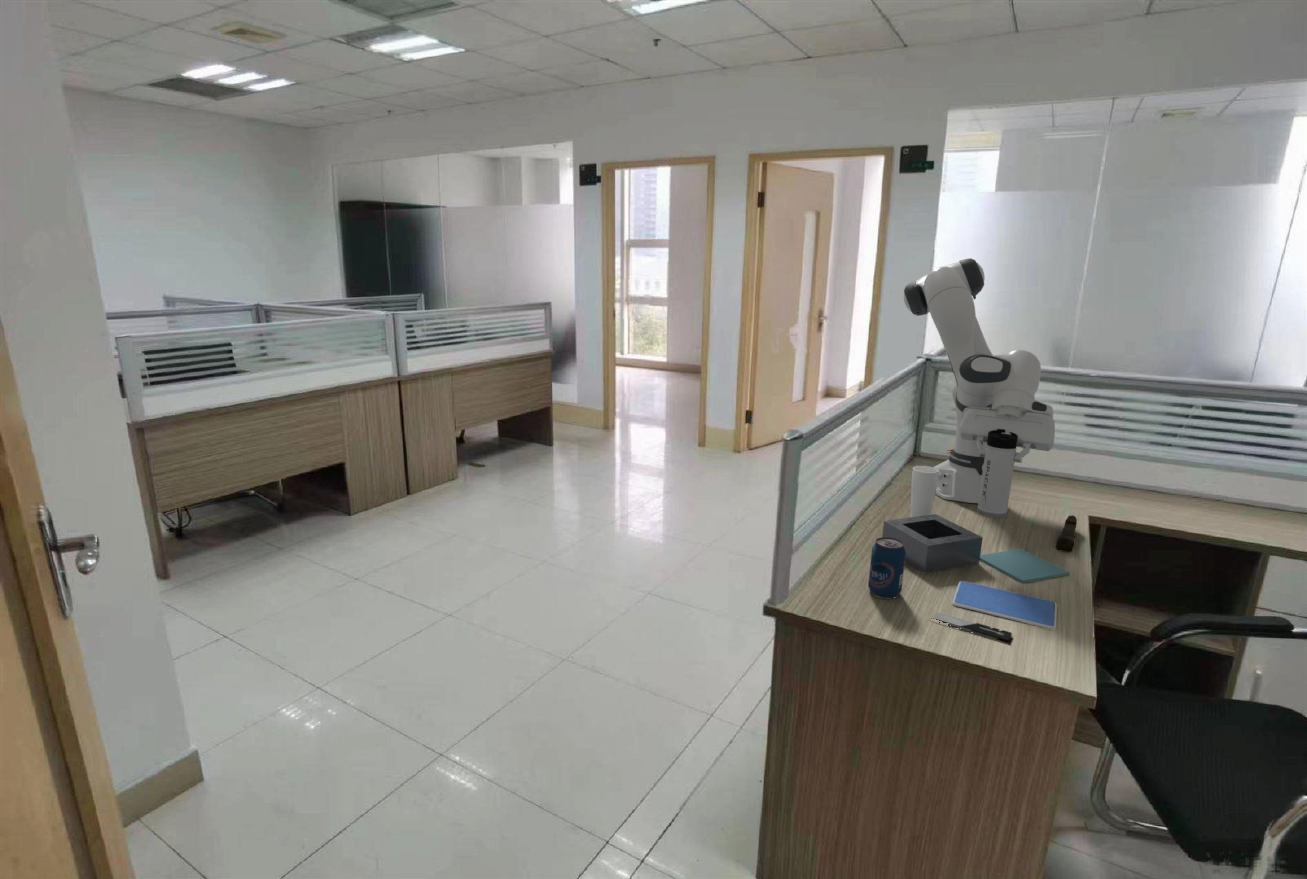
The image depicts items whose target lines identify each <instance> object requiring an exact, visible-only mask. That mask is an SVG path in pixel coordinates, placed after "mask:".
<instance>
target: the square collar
mask: <svg viewBox="0 0 1307 879" xmlns="http://www.w3.org/2000/svg"><path fill="white" fill-rule="evenodd" d="M882 525H883V528H882V535H881V536H882V537H890V538H895V539H898V540H900V541H902V542H903V544H904V549H905V551H906V555H905V563H907V564H909V565H910V566H911V567H913V568H915V569H917V570H918V571H920V572H921V571H922V572H921V573H923V574H924V573H925V574H929V573H935V572H940V571H948V570H953V569H954V570H955V569H958V568H964V567H970V566H977V565H980V555H981V552H982V544H983V537H982V536H981V535H979V534H977V533H975V532H973V531H970V530H969V529H967V528H964V527H963V526H962V525H961V526H960V525H959V524H957V523H954V522H952V521H950V520H948V519H947V518H944V517H942V516H941V515H938V514H937V513H935V514H932V513H931V515H925V516H917V517H910V516H909V517H904V518H897V519H896V518H895V519H889V520H884V521H883V524H882Z"/></svg>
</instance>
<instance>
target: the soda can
mask: <svg viewBox="0 0 1307 879" xmlns="http://www.w3.org/2000/svg"><path fill="white" fill-rule="evenodd" d="M905 555H906V551H905V549H904V544H903V542H902V541H900V540H898V539H895V538H890V537H878V538H876V539H875V542H874V543H873V545H872V547H871V555H870V556H871V557H870V566H869V574H868V588H869V590H870V592H871V594H872V593H873V594H874V595H873V594H872V595H873V596H875V595H876V596H875V597H877V596H878V597H877V598H879V597H882V598H881V599H884V598H893V599H895V598H894V597H896V598H897V597H898V596H899V595H900V594H901V592H902V590H903V581H904V572H905V563H906V562H905Z"/></svg>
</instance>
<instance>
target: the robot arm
mask: <svg viewBox="0 0 1307 879" xmlns="http://www.w3.org/2000/svg"><path fill="white" fill-rule="evenodd" d="M985 278H986V277H985V272H984V269H983V268H982V266H981V264H980V263H978V262H977V260H976V259H973V258H972V257H971V258H964V259H961V260H959V261H958V262H957V261H956V262H955V263H951V264H947V265H945V266H940V267H937V268H934V269H932V270H931V271H930V272H928V274H925V275H924V276H922V277H920V278H918V279H917V280H912V281H910V282H909V283H908V284H906V286H905V287H904V289H903V302H904V304H905V307H906V308H907V310H909V312H911V314H913V315H915V316H917V317H918V316H923V315H925V316H926V315H928V313H930V316H931V318H932V321H933V324H934V325H935V328H936V329H937V332H938V335H939V337H940V340H941V342H942V345H943V348H944V350H945V353H946V356H947V358H948V361H949V363H950V365H951V369H952V373H953V376H954V379H955V383H956V384H955V385H954V387H953V388H952V394H951V395H952V400H953V402H954V404H955V412H956V432H955V433H956V434H955V440H954V442H955V443H954V448H953V449H947V450H946V451H947V452H946V454H949V457H948V459H946V460H944V461H942V462H941V463H938V464H937V465H935V466H932V467H933V468H936V469H938V470H939V476H938V485H937V490H936V494H935V496H936V495H937V496H938V497H940V498H941V499H943V500H947V501H948V500H949V501H957V502H962V503H968V504H969V503H970V504H971V503H972V504H978V502H979V495H980V488H981V480H982V473H983V466H984V458H985V451H986V447H987V446H986V444H987V441H988V440H987V438H988V432H989V431H992V430H997V429H1004V430H1005V433H1004V434H1010V433H1009V432H1012V433H1015V434H1017V436H1018V439H1017V444H1016V445H1017V446H1016V448H1021V449H1022V450H1021V451H1020V452H1017V451H1016V454H1015V458H1014V460H1015V461H1014V463H1020V464H1022V463H1023V459H1024V458H1025V457H1026V456H1027V455H1028V454H1029V453H1030V452H1031V450H1037V451H1043V452H1050V451H1051V450H1053V449H1054V446H1055V435H1056V434H1055V433H1056V426H1055V425H1056V424H1055V420H1054V409H1053V406H1051V405H1050V404H1047V403H1044V402H1041V401H1039V400H1036V399H1035V396H1036V393H1037V391H1038V389H1039V385H1040V381H1041V376H1042V375H1041V374H1042V368H1041V366H1042V365H1041V362H1040V360H1039V358H1038V357H1037V356H1036V355H1035V354H1034V353H1032V352H1031V351H1028V350H1024V349H1015V350H1012V351H1009V352H1007V353H1003V354H998V355H993V352H992V351H991V349H990V348H989V345H988V344H987V341H986V339H985V338H986V337H984V334H983V331H982V328H981V326H980V323H979V321H978V319H977V318H978V317H977V316H976V306H975V302H974V300H976V299H977V295H979V293H980V292H982V290H983V289H984V286H985ZM1010 435H1011V434H1010Z"/></svg>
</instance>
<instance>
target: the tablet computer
mask: <svg viewBox="0 0 1307 879" xmlns="http://www.w3.org/2000/svg"><path fill="white" fill-rule="evenodd" d="M951 604H952V606H955V607H957V608H958V607H959V608H963V609H967V610H971V611H975V612H978V613H982V614H987V615H991V616H996V617H998V618H999V617H1000V618H1003V619H1005V620H1006V619H1007V620H1010V621H1016V622H1019V623H1024V624H1028V625H1031V626H1034V625H1035V627H1038V628H1043V629H1046V628H1049V629H1048V630H1051V629H1053V631H1055V630H1056V629H1057V614H1058V613H1057V612H1058V610H1057V609H1058V608H1057V607H1058V603H1056V602H1055V601H1054V600H1048V599H1044V598H1039V597H1035V596H1030V595H1027V594H1021V593H1016V592H1013V591H1008V590H1005V589H999V588H996V587H990V586H987V585H982V584H979V583H973V582H969V581H965V580H961V581H959V582H958V585H957V587H956V590H955V593H954V597H953V600H952V602H951ZM1056 613H1057V614H1056ZM1054 629H1055V630H1054Z"/></svg>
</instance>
